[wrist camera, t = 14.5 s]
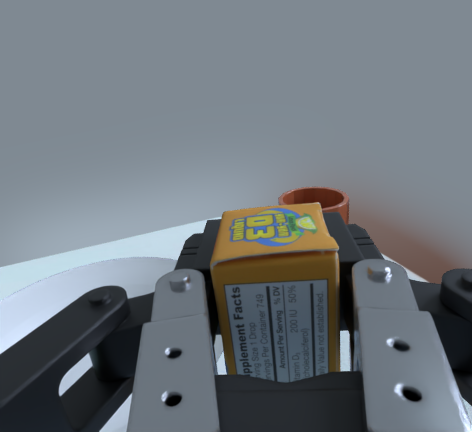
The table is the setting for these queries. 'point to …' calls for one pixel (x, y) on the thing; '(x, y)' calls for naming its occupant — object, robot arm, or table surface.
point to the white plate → (68, 290)
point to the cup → (319, 199)
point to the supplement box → (277, 292)
